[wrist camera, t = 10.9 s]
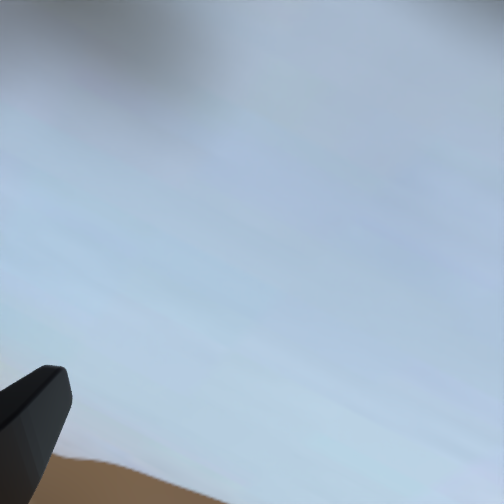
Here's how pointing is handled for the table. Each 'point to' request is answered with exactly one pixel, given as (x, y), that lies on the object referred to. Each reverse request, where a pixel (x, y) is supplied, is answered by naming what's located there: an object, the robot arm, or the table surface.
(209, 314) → the table surface
